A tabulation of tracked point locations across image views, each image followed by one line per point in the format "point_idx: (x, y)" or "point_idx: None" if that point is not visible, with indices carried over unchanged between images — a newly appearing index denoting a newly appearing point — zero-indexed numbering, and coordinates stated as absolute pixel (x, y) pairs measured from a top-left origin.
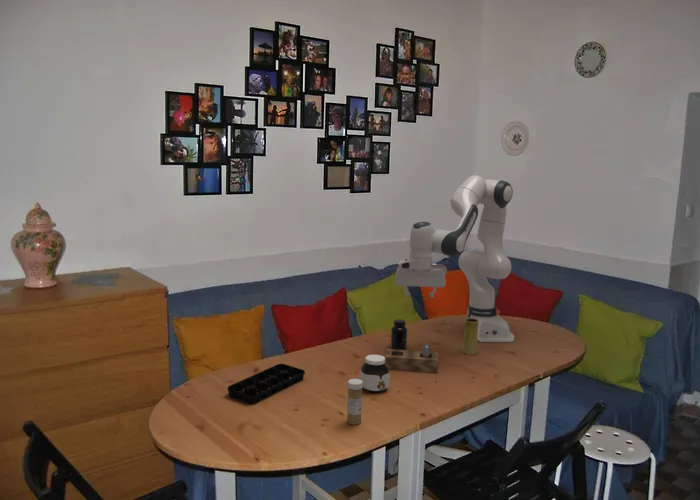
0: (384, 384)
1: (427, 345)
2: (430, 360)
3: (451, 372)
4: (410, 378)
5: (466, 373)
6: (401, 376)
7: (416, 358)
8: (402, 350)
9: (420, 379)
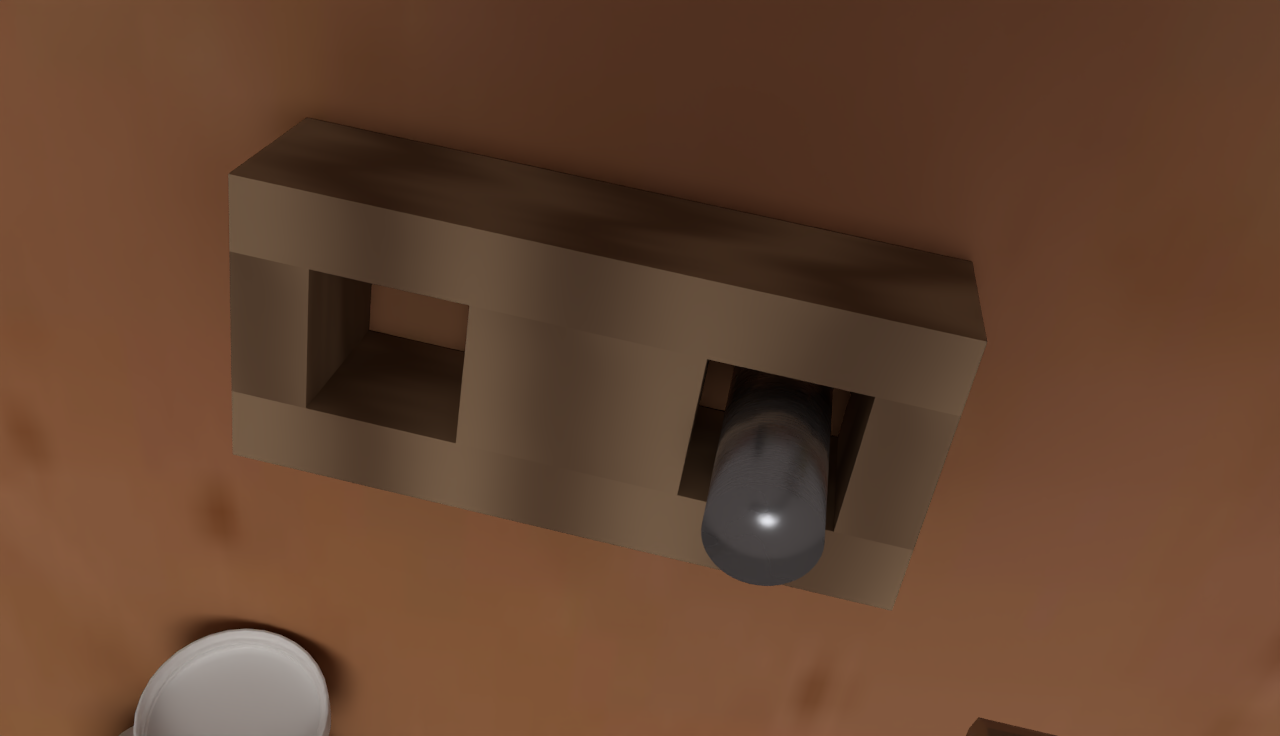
0: None
1: (783, 525)
2: (800, 585)
3: (1077, 507)
4: (567, 606)
5: (1260, 545)
6: (480, 558)
7: (624, 532)
8: (457, 246)
9: (666, 635)
